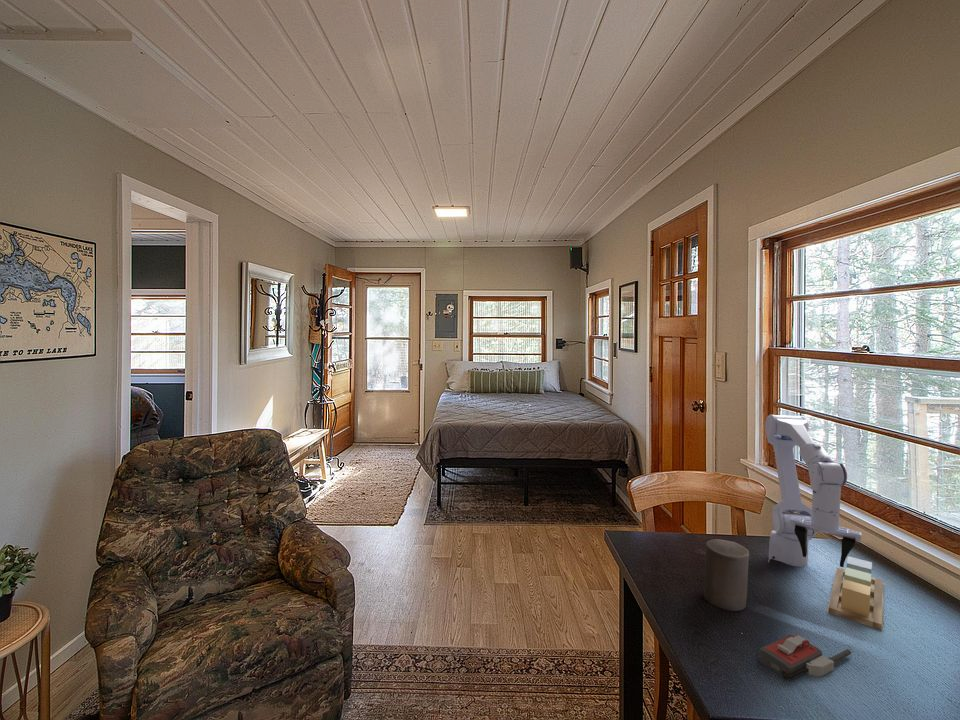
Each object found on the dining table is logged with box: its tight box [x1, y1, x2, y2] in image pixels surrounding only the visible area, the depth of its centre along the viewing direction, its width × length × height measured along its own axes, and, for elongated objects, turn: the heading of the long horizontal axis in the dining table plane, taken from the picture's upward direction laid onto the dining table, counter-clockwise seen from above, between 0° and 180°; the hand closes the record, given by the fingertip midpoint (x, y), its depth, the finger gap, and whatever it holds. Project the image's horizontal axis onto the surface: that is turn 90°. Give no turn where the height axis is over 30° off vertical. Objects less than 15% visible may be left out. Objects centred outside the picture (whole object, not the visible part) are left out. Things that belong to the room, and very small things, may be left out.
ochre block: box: [841, 579, 871, 617], centre depth 109 cm, size 5×5×6 cm
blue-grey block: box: [846, 555, 873, 575], centre depth 121 cm, size 5×5×6 cm
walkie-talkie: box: [758, 634, 852, 681], centre depth 95 cm, size 9×4×20 cm
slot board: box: [826, 567, 884, 631], centre depth 115 cm, size 10×26×3 cm, turn 138°
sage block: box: [844, 566, 872, 587], centre depth 115 cm, size 5×5×6 cm
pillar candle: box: [702, 538, 750, 612], centre depth 116 cm, size 10×10×15 cm
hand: (822, 560), depth 118 cm, fingers open, 7 cm apart
